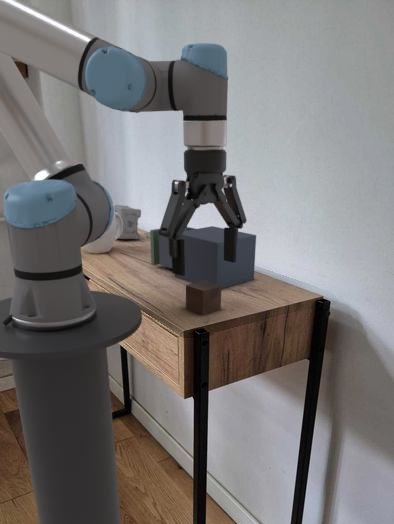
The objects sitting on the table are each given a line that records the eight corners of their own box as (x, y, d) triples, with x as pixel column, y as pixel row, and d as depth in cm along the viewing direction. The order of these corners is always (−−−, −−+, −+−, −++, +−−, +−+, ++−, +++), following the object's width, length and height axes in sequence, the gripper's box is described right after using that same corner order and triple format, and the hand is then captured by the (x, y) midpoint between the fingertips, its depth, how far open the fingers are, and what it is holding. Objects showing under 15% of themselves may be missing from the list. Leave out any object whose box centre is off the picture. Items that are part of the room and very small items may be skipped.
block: (202, 315, 94) (202, 290, 92) (185, 308, 97) (185, 284, 95) (220, 309, 97) (221, 285, 95) (203, 303, 100) (204, 280, 98)
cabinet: (174, 276, 118) (173, 232, 114) (211, 267, 126) (212, 226, 121) (216, 290, 108) (217, 243, 104) (253, 279, 116) (256, 235, 112)
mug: (111, 243, 151) (108, 199, 146) (135, 248, 145) (132, 203, 139) (71, 251, 141) (66, 205, 136) (95, 257, 135) (91, 209, 129)
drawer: (139, 260, 128) (137, 227, 124) (172, 253, 135) (171, 221, 131) (185, 275, 116) (185, 238, 112) (219, 267, 123) (220, 232, 119)
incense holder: (142, 239, 157) (141, 206, 152) (120, 242, 152) (117, 208, 148) (128, 234, 164) (126, 202, 159) (105, 237, 159) (103, 204, 155)
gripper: (238, 145, 95) (235, 253, 104) (134, 150, 79) (141, 276, 88) (267, 146, 90) (262, 259, 98) (163, 151, 74) (167, 284, 83)
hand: (205, 267), depth 93 cm, fingers open, 13 cm apart
